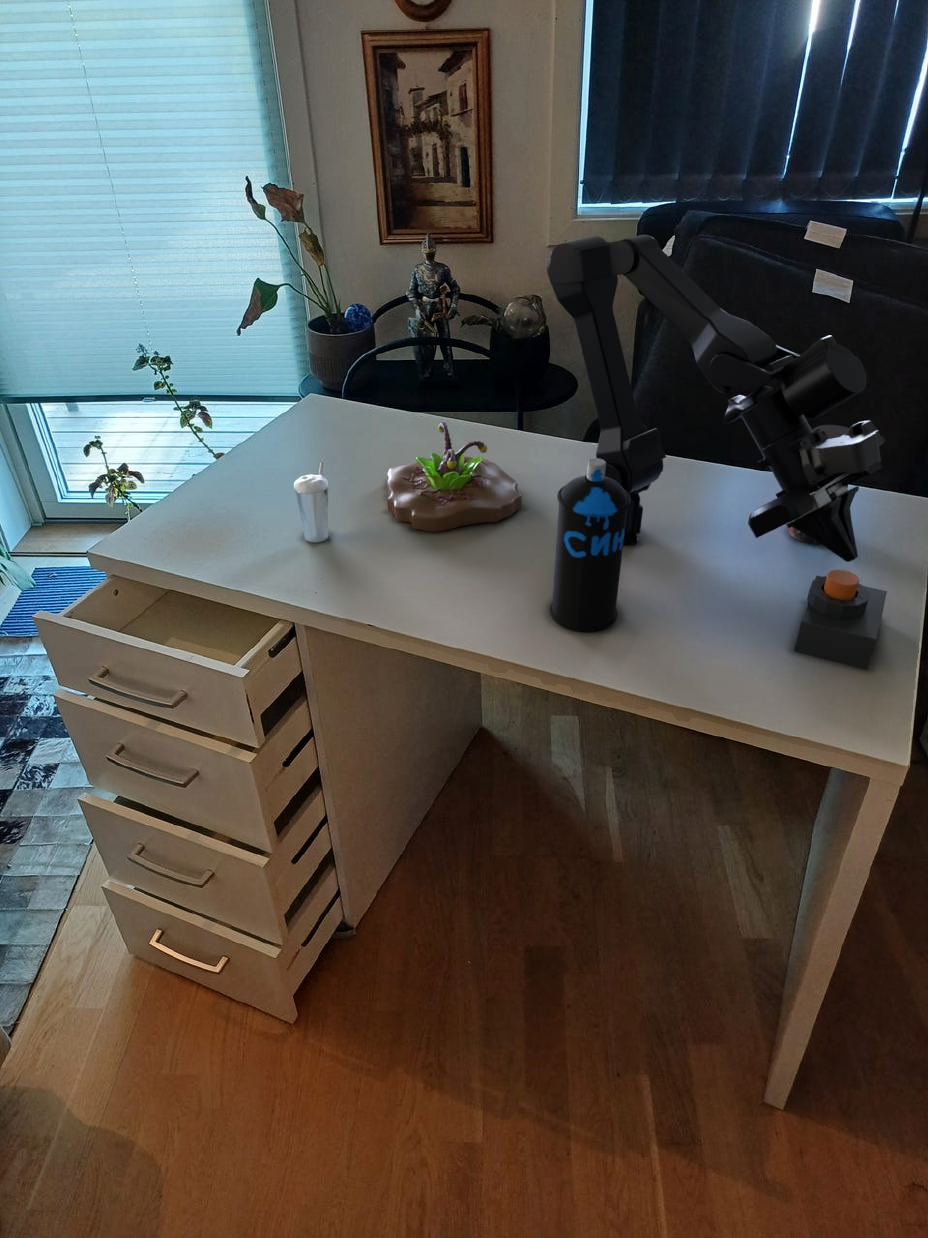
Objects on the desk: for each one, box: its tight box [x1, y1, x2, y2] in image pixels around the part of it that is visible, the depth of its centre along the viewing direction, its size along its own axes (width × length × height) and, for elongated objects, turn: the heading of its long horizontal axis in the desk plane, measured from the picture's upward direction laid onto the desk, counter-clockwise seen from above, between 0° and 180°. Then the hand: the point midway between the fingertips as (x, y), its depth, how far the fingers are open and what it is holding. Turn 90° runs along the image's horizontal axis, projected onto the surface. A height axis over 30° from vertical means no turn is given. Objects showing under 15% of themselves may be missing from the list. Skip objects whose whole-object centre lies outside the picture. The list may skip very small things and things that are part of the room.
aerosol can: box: [549, 457, 631, 633], centre depth 104 cm, size 8×8×20 cm
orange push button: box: [824, 569, 860, 600], centre depth 102 cm, size 3×3×2 cm
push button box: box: [793, 575, 888, 671], centre depth 104 cm, size 11×8×6 cm
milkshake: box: [293, 462, 329, 544], centre depth 123 cm, size 4×5×10 cm
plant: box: [386, 421, 522, 533], centre depth 132 cm, size 20×20×11 cm
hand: (852, 559), depth 100 cm, fingers closed
